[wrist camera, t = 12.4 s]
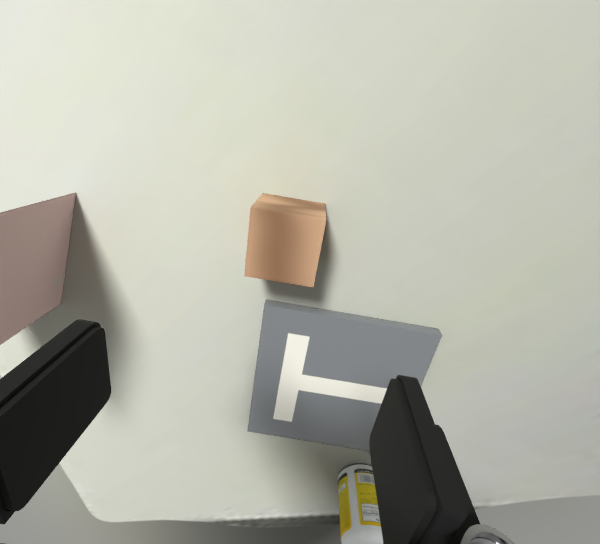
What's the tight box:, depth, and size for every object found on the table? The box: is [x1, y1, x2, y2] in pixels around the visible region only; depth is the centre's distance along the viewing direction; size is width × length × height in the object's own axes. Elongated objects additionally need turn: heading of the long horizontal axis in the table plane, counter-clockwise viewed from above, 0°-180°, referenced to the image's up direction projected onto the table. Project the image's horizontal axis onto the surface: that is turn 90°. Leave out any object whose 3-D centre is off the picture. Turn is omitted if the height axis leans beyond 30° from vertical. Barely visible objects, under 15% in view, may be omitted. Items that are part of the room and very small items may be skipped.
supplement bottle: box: [338, 464, 383, 544], centre depth 34 cm, size 5×5×10 cm
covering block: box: [244, 193, 326, 287], centre depth 24 cm, size 5×5×5 cm
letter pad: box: [248, 300, 442, 451], centre depth 32 cm, size 16×16×1 cm
